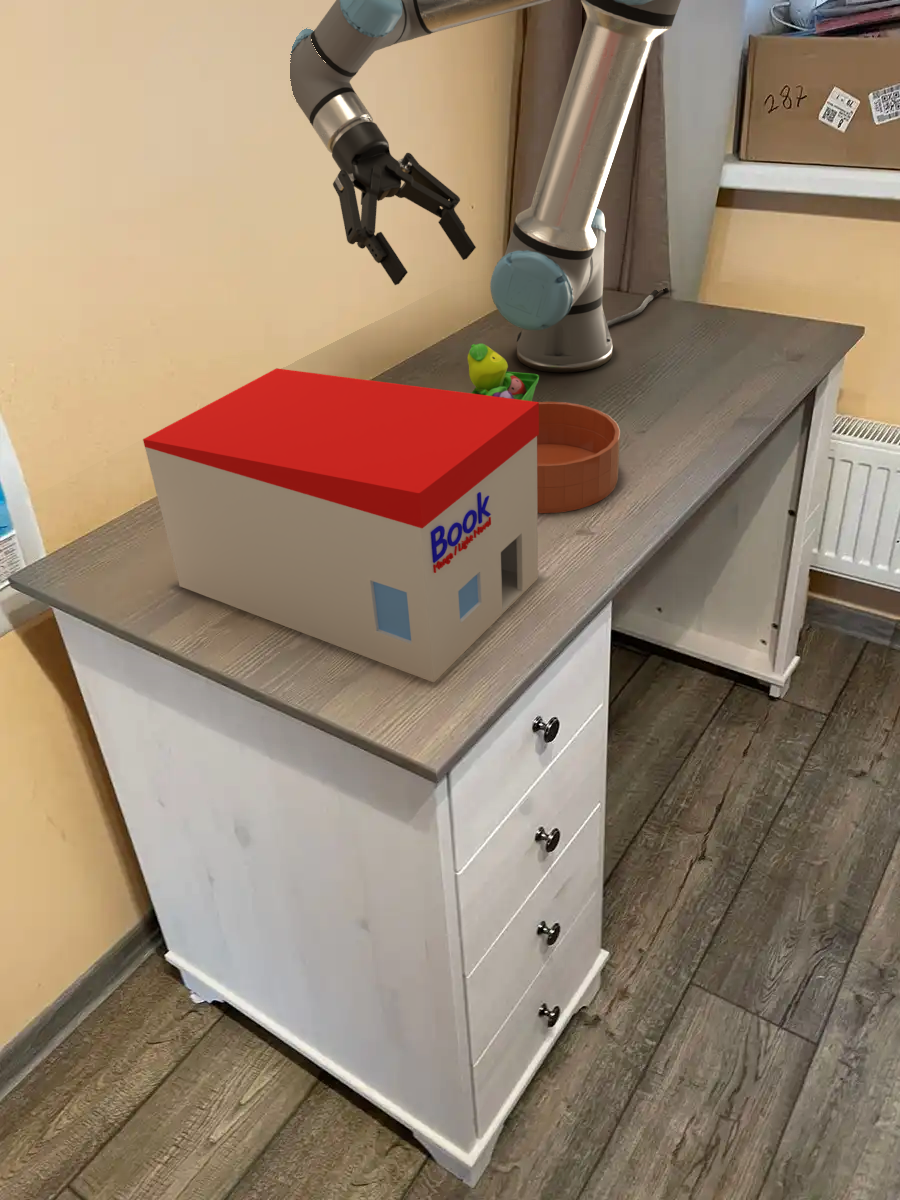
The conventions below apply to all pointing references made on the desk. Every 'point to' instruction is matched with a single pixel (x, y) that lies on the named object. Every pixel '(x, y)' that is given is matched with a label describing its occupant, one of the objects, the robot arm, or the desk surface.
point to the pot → (575, 456)
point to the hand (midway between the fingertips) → (436, 266)
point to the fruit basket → (498, 376)
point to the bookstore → (356, 510)
